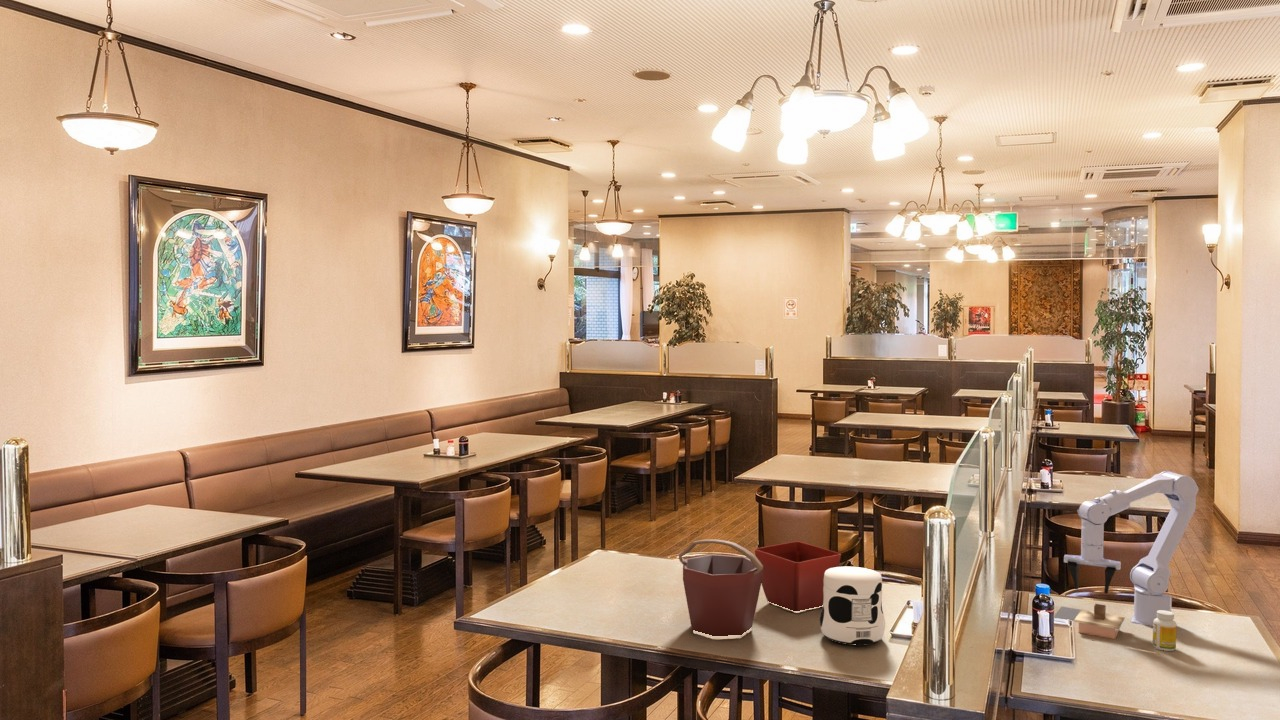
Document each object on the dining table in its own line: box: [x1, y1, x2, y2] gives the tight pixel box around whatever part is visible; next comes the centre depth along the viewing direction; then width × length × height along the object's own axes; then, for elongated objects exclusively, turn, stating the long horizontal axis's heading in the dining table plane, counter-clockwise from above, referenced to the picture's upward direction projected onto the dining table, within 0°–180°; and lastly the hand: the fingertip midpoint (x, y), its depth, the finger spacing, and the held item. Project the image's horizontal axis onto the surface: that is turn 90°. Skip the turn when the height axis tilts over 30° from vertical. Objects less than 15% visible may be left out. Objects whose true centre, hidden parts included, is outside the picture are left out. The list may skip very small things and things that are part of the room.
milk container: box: [819, 565, 886, 646], centre depth 245 cm, size 17×17×18 cm
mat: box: [1054, 605, 1081, 621], centre depth 264 cm, size 14×12×1 cm
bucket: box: [677, 538, 763, 636], centre depth 253 cm, size 24×22×25 cm
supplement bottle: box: [1152, 610, 1178, 652], centre depth 239 cm, size 5×5×10 cm
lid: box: [1074, 603, 1126, 629], centre depth 251 cm, size 11×11×4 cm
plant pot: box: [754, 540, 842, 611], centre depth 274 cm, size 19×19×17 cm
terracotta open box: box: [1078, 622, 1121, 640], centre depth 251 cm, size 9×9×4 cm
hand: (1091, 590), depth 259 cm, fingers open, 7 cm apart
